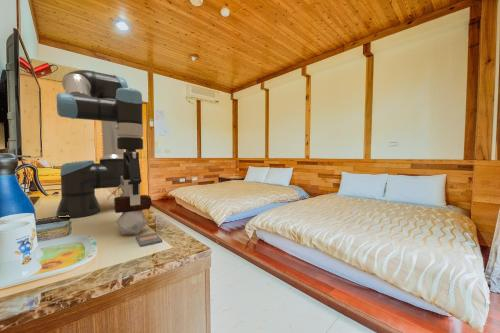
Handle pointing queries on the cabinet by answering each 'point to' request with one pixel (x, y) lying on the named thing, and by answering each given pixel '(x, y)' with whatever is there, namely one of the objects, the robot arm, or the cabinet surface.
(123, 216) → the die
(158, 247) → the cabinet surface
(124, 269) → the cabinet surface
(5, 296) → the cabinet surface
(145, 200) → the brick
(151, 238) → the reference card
